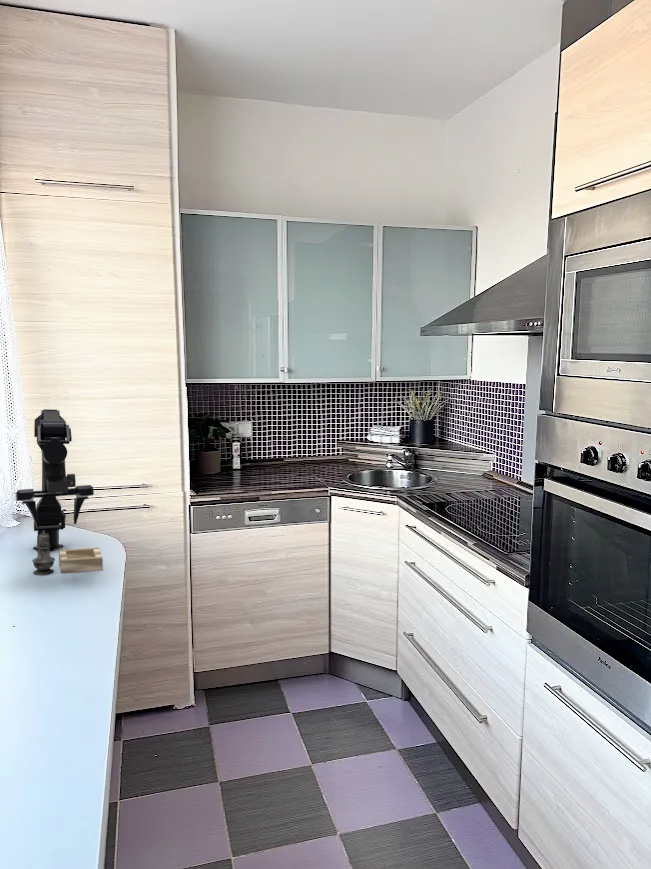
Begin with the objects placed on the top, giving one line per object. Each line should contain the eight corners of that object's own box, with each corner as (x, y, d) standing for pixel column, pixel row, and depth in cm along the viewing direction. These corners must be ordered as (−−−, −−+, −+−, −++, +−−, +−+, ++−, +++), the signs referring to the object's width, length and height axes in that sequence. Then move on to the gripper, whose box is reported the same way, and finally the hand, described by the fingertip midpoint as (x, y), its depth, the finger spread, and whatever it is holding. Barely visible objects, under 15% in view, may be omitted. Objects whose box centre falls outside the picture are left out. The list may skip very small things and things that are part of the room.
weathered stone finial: (46, 576, 180) (46, 533, 179) (27, 574, 181) (27, 531, 180) (59, 570, 186) (59, 528, 184) (40, 567, 187) (40, 526, 186)
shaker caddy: (59, 561, 193) (59, 549, 193) (98, 558, 198) (98, 547, 197) (60, 573, 183) (61, 561, 183) (102, 570, 188) (102, 558, 187)
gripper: (17, 466, 164) (20, 529, 163) (95, 462, 173) (98, 522, 172) (14, 469, 174) (17, 529, 172) (88, 466, 183) (91, 522, 181)
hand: (56, 525), depth 174 cm, fingers open, 9 cm apart
